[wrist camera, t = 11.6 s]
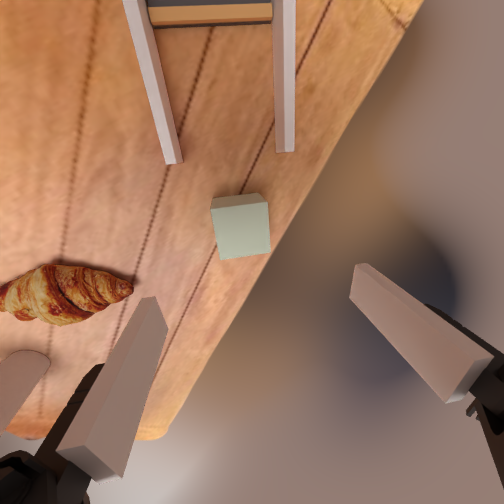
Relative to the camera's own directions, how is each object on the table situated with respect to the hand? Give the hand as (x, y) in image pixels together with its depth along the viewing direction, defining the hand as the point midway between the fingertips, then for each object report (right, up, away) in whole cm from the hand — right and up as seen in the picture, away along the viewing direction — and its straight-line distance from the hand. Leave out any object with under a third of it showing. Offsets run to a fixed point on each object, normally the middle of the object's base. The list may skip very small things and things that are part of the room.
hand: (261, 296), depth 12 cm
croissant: (-31, -2, +20) cm, 37 cm away
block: (-3, +8, +19) cm, 21 cm away
